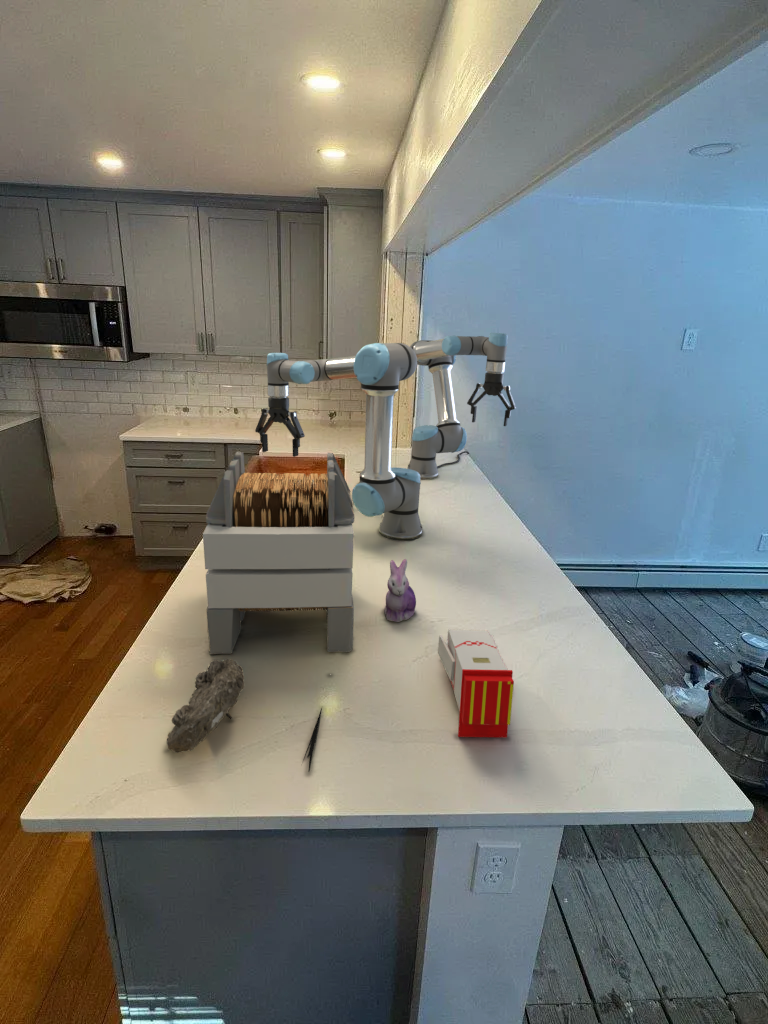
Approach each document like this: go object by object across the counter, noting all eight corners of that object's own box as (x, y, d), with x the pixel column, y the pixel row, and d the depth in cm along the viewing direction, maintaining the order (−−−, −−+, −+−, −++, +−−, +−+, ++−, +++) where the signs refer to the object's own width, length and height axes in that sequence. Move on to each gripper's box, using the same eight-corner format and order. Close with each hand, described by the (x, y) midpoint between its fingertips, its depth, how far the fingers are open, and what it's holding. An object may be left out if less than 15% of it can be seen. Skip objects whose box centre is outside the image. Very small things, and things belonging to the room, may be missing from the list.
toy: (488, 613, 130) (523, 677, 101) (484, 667, 133) (517, 744, 104) (435, 612, 130) (455, 676, 101) (432, 666, 133) (451, 743, 103)
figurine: (392, 627, 141) (395, 572, 136) (374, 608, 149) (376, 556, 144) (425, 619, 145) (429, 566, 140) (405, 601, 154) (408, 550, 149)
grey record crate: (229, 585, 158) (221, 442, 144) (346, 584, 161) (350, 444, 148) (206, 656, 126) (193, 481, 112) (353, 652, 130) (358, 483, 116)
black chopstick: (331, 679, 122) (336, 673, 122) (307, 777, 96) (313, 769, 95) (324, 675, 122) (329, 669, 121) (298, 772, 95) (304, 764, 95)
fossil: (192, 660, 117) (244, 628, 112) (224, 691, 120) (276, 661, 115) (142, 746, 98) (202, 712, 93) (182, 779, 101) (242, 748, 96)
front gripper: (313, 398, 205) (313, 455, 212) (256, 392, 214) (258, 447, 222) (302, 401, 199) (303, 460, 206) (244, 395, 208) (246, 451, 215)
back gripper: (527, 374, 231) (520, 425, 238) (467, 369, 240) (463, 419, 248) (523, 375, 225) (516, 428, 232) (462, 370, 234) (458, 421, 241)
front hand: (280, 453), depth 214 cm, fingers open, 13 cm apart
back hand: (489, 423), depth 240 cm, fingers open, 13 cm apart
